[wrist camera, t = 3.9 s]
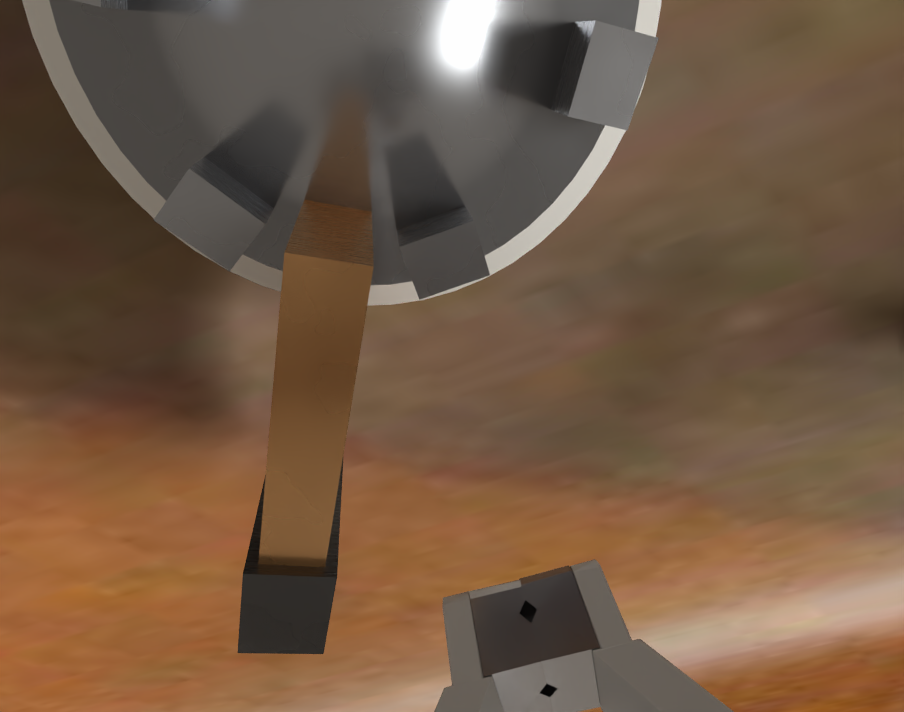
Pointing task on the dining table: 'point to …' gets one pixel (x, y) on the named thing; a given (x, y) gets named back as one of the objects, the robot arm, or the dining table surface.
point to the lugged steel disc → (346, 189)
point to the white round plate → (253, 270)
